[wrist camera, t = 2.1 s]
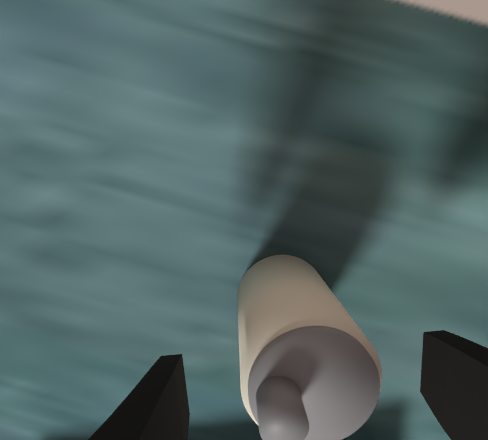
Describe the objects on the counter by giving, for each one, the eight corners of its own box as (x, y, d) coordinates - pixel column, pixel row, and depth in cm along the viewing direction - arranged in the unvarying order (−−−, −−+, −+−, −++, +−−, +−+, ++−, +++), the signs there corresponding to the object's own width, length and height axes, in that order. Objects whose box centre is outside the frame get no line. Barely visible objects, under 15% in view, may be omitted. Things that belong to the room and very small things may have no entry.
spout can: (322, 251, 13) (411, 341, 7) (324, 331, 14) (406, 483, 8) (234, 258, 13) (235, 357, 7) (240, 338, 14) (247, 498, 7)
